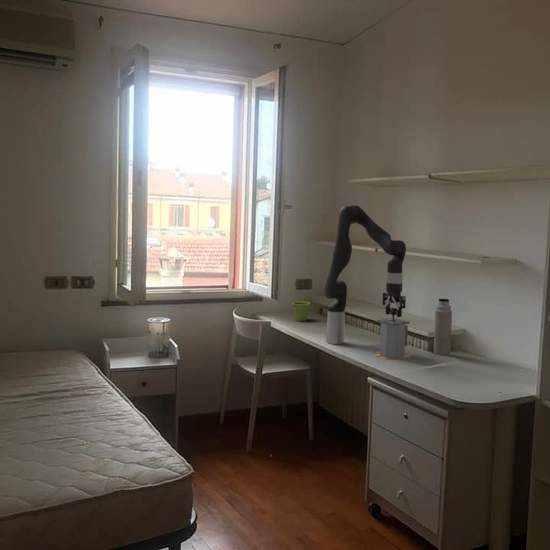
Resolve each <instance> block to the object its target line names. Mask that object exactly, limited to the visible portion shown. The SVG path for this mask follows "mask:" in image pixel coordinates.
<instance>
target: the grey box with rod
mask: <svg viewBox="0 0 550 550" xmlns="http://www.w3.org/2000/svg"><path fill="white" fill-rule="evenodd" d="M376 322H377V323H380V345H379V346H380V347H379V348H380V349H379V350H380V351H379V352H380V356H383V357H386V358H402V357H404V353H405V347H407V346H408V330H409V324H410V322H411V321H408V320H404V319H401V318H397V317H396V318H395V317H394V321H392V317H391V318H384V319H382V318H381V319H377V320H376Z"/></svg>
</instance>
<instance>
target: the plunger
mask: <svg viewBox="0 0 550 550" xmlns="http://www.w3.org/2000/svg"><path fill="white" fill-rule="evenodd" d="M389 315H391V316H392V317H391V318H392V321H394V318H395V316H397V307H390V314H389Z"/></svg>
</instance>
